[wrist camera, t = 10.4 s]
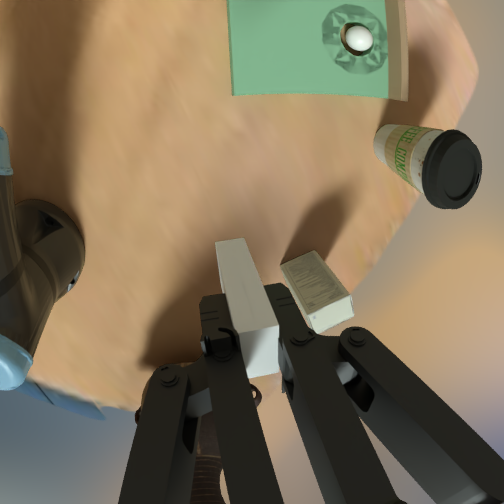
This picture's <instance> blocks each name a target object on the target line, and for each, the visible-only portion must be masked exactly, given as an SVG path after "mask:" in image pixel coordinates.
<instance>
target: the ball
mask: <svg viewBox="0 0 504 504" xmlns="http://www.w3.org/2000/svg"><path fill="white" fill-rule="evenodd" d="M345 38H346V42H347V44H348V45H349V46H350V47H351V48H353V49H354V50H357V51H364V50H367V49H369V48H370V47H371V45H372V43H373V37H372V34H371V33H370V31H369V30H368V29H366V28H364V27H362V26H353V27H351V28H350V29H348V31H347V32H346V36H345Z"/></svg>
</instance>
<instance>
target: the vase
mask: <svg viewBox="0 0 504 504" xmlns="http://www.w3.org/2000/svg"><path fill="white" fill-rule="evenodd" d="M192 363H194V362H188V363H178V364H177V365H180V366H181V367H185V366H188V365H190V364H192ZM150 379H151V377H150ZM150 379H149V380H148V382H147V383H146V386H145V388H144V391H143V394H142V401H141V406H140V408H139V409H138V410H137V411H136V413H135V422H136V424H137V425H138V421H139V417H140V414H141V410H142V407H143V403H144V400H145V396H146V393H147V389H148V386H149V383H150ZM250 387H251V390H252V391H256V397H255V398H254V401H255V405H256V408H257V406H258V405H259V404H260V402H261V399H262V395H261V393H260V391H259V390H258V389H257V387H255V386H254V385H252V384H250ZM222 469H223V466H222V461H221V456H220V451H219V445H218V440H217V434H216V429H215V423H214V417H213V411H210V412H208V413H206V414H204V415H202V418H201V425H200V432H199V439H198V446H197V453H196V460H195V467H194V475H193V482H192V490H191V497H190V504H226V503H225V502H224V499H223V497H222V495H221V490H220V474H221V471H222Z"/></svg>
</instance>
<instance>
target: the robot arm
mask: <svg viewBox="0 0 504 504" xmlns="http://www.w3.org/2000/svg"><path fill="white" fill-rule="evenodd" d="M12 175H13V169H12V168H11V163H10V154H9V141H8V136H7V133H6V132H5V130H4V129H3V128H2V127H1V126H0V390H12V389H15V388H17V387H18V386H19V385H21V384H22V383H23V381H24V380H25V377H26V375H27V373H28V371H29V369H30V367H31V366H32V364H33V357H34V354H35V351H36V348H37V345H38V343H39V340H40V337H41V335H42V332H43V329H44V327H45V324H46V322H47V319H48V317H49V315H50V312H51V310H52V307H53V305H54V303H55V302H57V301H58V300H59V299H60V298H61V297H63V296H64V295H65V294H66V293H67V292H69V291H70V290H71V289H72V288H73V287H74V285H75V284H76V282H77V281H78V279H79V276H80V274H81V272H82V269H83V266H84V261H85V249H84V244H83V240H82V237H81V235H80V233H79V231H78V229H77V227H76V225H75V224H74V222H73V221H72V220H71V219H70V218H69V216H68V215H67V214H66V213H64V212H63V211H62V210H61V209H59V208H58V207H56V206H55V205H53V204H51V203H48V202H45V201H42V200H26V201H22V202H20V203H18V204H16V205H15V202H14V192H13V181H12ZM215 246H216V254H217V261H218V268H219V275H220V282H221V288H222V292H223V293H222V294H216V295H210V296H204V297H203V298H202V300H201V302H200V304H199V308H200V317H201V325H202V333H203V334H202V336H201V341H200V342H201V346H202V350H203V354H202V355H201V357H200V358H199V359H198V360H197V361H196V362H194V363H192V364H190V365H188V366H185V367H181V366H180V365H177V364H165V365H163V366H161V367H159V368H158V369H156V370H155V371H154V373H153V375H152V376H151V379H150V383H149V386H148V389H147V393H146V396H145V400H144V403H143V407H142V410H141V414H140V417H139V421H138V425H137V429H136V432H135V436H134V440H133V444H132V448H131V451H130V455H129V459H128V463H127V467H126V472H125V476H124V480H123V484H122V488H121V493H120V497H119V502H118V504H190V497H191V490H192V482H193V475H194V467H195V460H196V453H197V446H198V439H199V432H200V425H201V418H202V415H204V414H206V413H208V412H210V411H213V417H214V423H215V429H216V434H217V440H218V445H219V451H220V456H221V461H222V466H223V471H224V476H225V481H226V486H227V491H228V495H229V500H230V504H284V502H283V498H282V495H281V492H280V489H279V485H278V482H277V479H276V475H275V472H274V469H273V465H272V462H271V458H270V455H269V452H268V448H267V445H266V442H265V437H264V434H263V430H262V427H261V423H260V420H259V417H258V412H257V409H256V405H255V401H254V398H253V394H252V390H251V387H250V383H249V379H248V378H253V377H258V376H263V375H268V374H273V373H277V372H279V367H280V370H281V372H282V393H285V392H286V394H287V398H288V400H289V403H290V406H291V409H292V412H293V415H294V417H295V421H296V423H297V426H298V429H299V432H300V435H301V437H302V440H303V443H304V446H305V449H306V451H307V454H308V457H309V460H310V463H311V465H312V468H313V471H314V474H315V476H316V479H317V482H318V485H319V488H320V490H321V493H322V496H323V499H324V501H325V504H407V503H406V502H404V501H402V500H400V499H399V498H398V497H397V496H396V494H395V491H394V489H393V487H392V485H391V483H390V481H389V479H388V477H387V474H386V472H385V470H384V468H383V466H382V464H381V462H380V460H379V458H378V456H377V454H376V451H375V449H374V447H373V445H372V443H371V441H370V439H369V437H368V435H367V433H366V431H365V429H364V427H363V424H362V423H361V421H360V418H361V419H362V421H364V423H365V424H366V425H367V426H368V427H369V428H370V430H371V431H372V432H373V433H374V434H375V436H376V437H377V438H378V439H379V440H380V441H381V442H382V443H383V445H384V446H385V447H386V448H387V449H388V450H389V451H390V453H392V455H393V456H394V457H395V458H396V459H397V461H399V463H400V464H401V465H402V466H403V467H404V468H405V470H407V472H408V473H409V474H410V475H411V476H412V477H413V478H414V479H415V481H416V482H418V484H419V485H420V486H421V487H422V488H423V490H424V491H425V492H426V493H427V494H428V495H429V496H430V497H431V498H432V499H433V500H434V502H435V503H436V504H504V460H503V459H502V458H501V457H500V456H499V455H498V454H497V453H496V452H495V451H494V450H493V449H492V448H491V447H490V446H489V445H488V444H487V443H486V442H485V441H484V440H483V439H482V438H481V437H480V436H479V435H478V434H477V433H476V432H475V431H474V430H473V429H472V428H471V427H470V426H469V425H468V424H467V423H466V422H465V421H464V420H463V419H462V418H461V417H460V416H459V415H458V414H456V413H455V412H454V411H453V410H452V409H451V408H450V407H449V406H448V405H447V404H446V403H445V402H444V401H443V400H442V399H441V398H440V397H439V396H438V395H437V394H436V393H435V392H434V391H432V390H431V389H430V388H429V387H428V386H427V385H426V384H425V383H424V382H423V381H422V380H421V379H420V378H419V377H418V376H417V375H416V374H415V373H414V372H413V371H411V370H410V369H409V368H408V367H407V366H406V365H405V364H404V363H403V362H402V361H401V360H400V359H399V358H398V357H397V356H396V355H394V354H393V353H392V352H391V351H390V350H389V349H388V348H387V347H386V346H385V345H383V343H382V342H380V341H379V340H378V339H377V338H376V337H375V336H374V335H373V334H372V333H371V332H370V331H368V330H366V329H365V328H362V327H349V328H346V329H345V330H344V331H342V333H341V335H340V336H322V335H319V334H317V333H316V332H315V331H314V330H313V329H311V328H309V327H308V326H307V324H306V322H305V320H304V318H303V316H302V314H301V312H300V310H299V308H298V306H297V304H296V302H295V300H294V298H293V296H292V294H291V292H290V290H289V288H287V287H286V286H285V285H283V284H282V283H276V284H270V285H265V286H263V284H262V282H261V279H260V277H259V274H258V272H257V269H256V267H255V264H254V262H253V259H252V257H251V254H250V252H249V249H248V247H247V244H246V242H245V239H244V238H237V239H231V240H224V241H218V242H215ZM359 417H360V418H359Z"/></svg>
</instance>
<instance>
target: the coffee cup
mask: <svg viewBox="0 0 504 504" xmlns="http://www.w3.org/2000/svg"><path fill="white" fill-rule="evenodd" d="M373 146H374V152H375V154H376V156H377V158H378V159H379V160H380V161H382V162H383V163H384V164H386V165H387V166H389V168H390V169H391V170H392V171H393V172H395V173H396V174H397V175H399V176H400V177H401V178H403V179H404V180H405V181H406V182H408V183H409V184H410V185H411V186H413V187H414V188H415V189H416V190H418V191H419V192H420V193H422V194H425V196H426V198H427V200H428V201H429V202H430V203H431V204H432V205H433V206H435V207H438V208H442V209H458V208H461V207H462V206H464V205H465V204H467V203H468V202H469V201H470V199H471V198H472V197H473V195H474V194H475V192H476V190H477V188H478V185H479V182H480V179H481V174H482V160H481V155H480V152H479V150H478V148H477V146H476V145H475V144H474V143H473V142H472V141H471V139H470V138H469V137H467V135H466V134H464V133H462V132H460V131H458V130H454V129H453V130H447V131H443V130H441V129H434V128H427V127H419V126H411V125H395V124H387V125H384V126H383V127H381V128H380V129H379V130H378V132H377V133H376V135H375V138H374V144H373Z"/></svg>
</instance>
